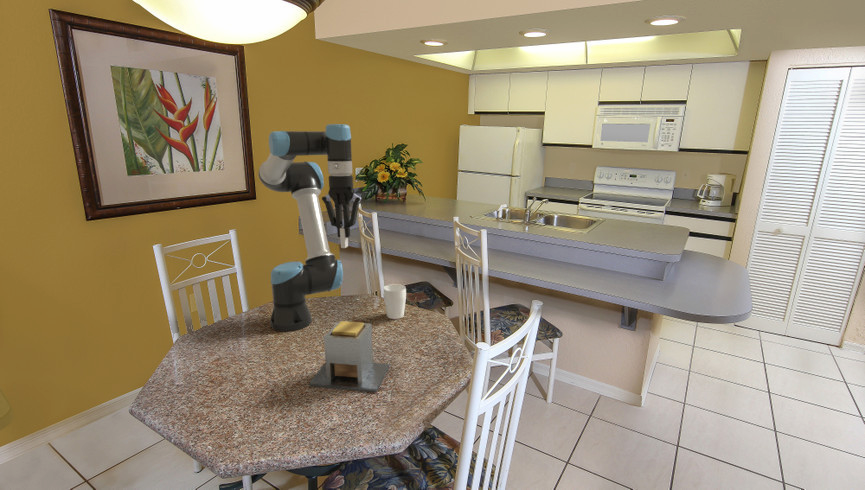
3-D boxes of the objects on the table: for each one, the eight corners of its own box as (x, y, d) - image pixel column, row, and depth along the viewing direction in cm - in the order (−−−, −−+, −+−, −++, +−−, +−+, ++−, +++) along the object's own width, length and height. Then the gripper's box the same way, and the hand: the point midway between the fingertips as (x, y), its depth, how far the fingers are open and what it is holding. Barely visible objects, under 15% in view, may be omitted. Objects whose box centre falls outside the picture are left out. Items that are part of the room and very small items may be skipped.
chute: (309, 386, 123) (305, 338, 119) (328, 362, 136) (325, 318, 133) (376, 392, 120) (374, 343, 116) (389, 367, 133) (388, 322, 129)
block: (335, 375, 125) (332, 331, 121) (343, 363, 131) (341, 321, 128) (357, 377, 123) (355, 332, 120) (365, 365, 130) (363, 322, 127)
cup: (403, 321, 166) (402, 292, 164) (381, 319, 168) (380, 290, 165) (409, 312, 175) (408, 284, 172) (388, 310, 177) (387, 283, 174)
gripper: (316, 175, 133) (321, 249, 139) (356, 175, 131) (359, 250, 136) (325, 173, 140) (330, 243, 146) (364, 174, 138) (367, 245, 144)
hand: (344, 246), depth 141 cm, fingers closed
